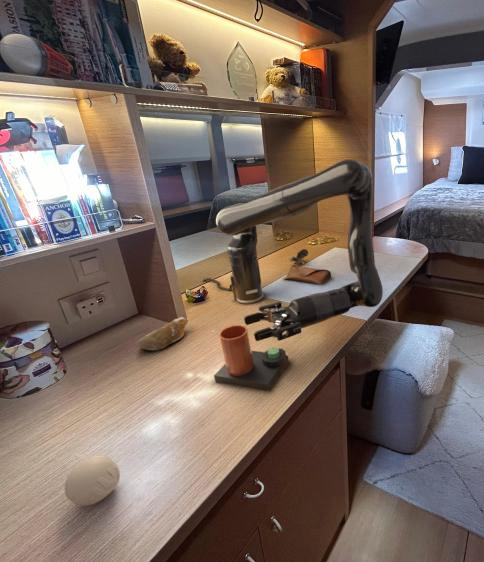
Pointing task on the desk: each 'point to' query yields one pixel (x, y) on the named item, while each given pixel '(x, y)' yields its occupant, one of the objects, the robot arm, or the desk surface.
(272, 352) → the scale button
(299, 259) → the eagle figurine
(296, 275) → the sunglasses case
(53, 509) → the desk surface
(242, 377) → the scale
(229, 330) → the cup
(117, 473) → the tan rounded lump
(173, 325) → the stone
